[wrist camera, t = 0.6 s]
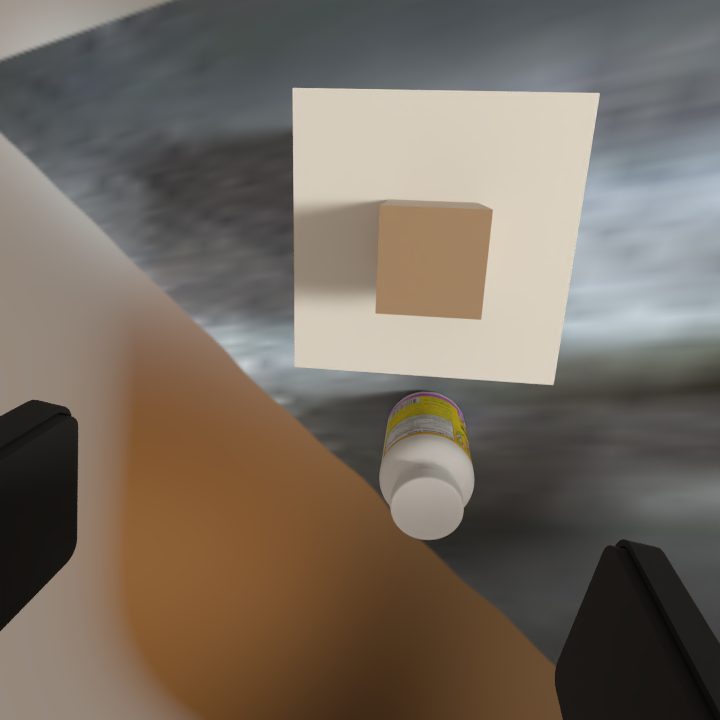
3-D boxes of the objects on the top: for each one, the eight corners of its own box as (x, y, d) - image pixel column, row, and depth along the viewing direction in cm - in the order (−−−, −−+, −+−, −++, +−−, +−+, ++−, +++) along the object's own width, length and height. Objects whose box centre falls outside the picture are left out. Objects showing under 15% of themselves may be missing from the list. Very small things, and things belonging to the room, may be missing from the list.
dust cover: (530, 127, 38) (657, 64, 17) (508, 311, 42) (587, 439, 21) (344, 123, 39) (251, 59, 18) (340, 301, 43) (261, 413, 23)
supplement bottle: (455, 465, 47) (466, 564, 35) (381, 450, 48) (366, 542, 35) (473, 396, 45) (491, 476, 33) (395, 380, 45) (384, 454, 33)
